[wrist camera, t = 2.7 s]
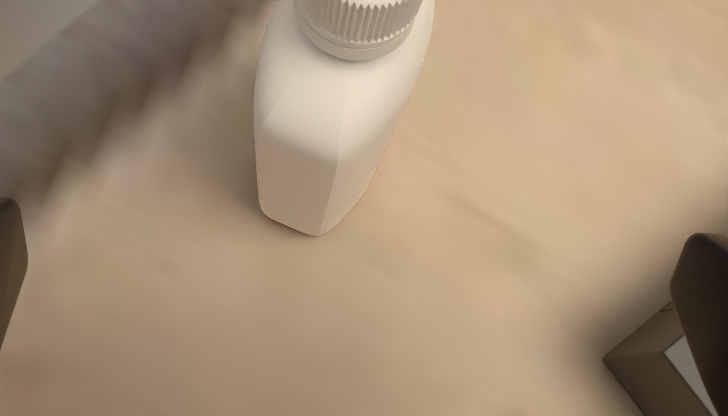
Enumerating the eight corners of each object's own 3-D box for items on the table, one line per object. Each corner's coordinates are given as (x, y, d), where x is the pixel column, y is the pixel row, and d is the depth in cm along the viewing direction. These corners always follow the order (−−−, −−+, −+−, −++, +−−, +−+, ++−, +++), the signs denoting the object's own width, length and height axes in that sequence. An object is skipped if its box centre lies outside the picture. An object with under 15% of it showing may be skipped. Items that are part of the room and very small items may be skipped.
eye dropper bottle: (210, 148, 22) (138, -130, 10) (351, 54, 23) (427, -284, 12) (295, 258, 21) (322, 95, 10) (434, 155, 23) (601, -95, 11)
